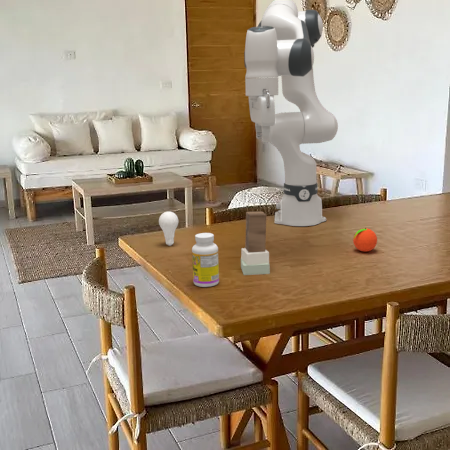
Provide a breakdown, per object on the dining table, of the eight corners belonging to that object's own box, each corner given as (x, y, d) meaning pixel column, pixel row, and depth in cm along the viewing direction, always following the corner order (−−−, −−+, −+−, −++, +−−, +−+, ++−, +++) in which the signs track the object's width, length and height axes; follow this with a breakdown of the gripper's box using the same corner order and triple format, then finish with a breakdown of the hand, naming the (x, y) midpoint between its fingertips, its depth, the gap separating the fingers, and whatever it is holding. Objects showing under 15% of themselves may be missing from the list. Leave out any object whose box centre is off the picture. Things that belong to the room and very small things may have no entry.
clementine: (362, 256, 171) (362, 232, 169) (345, 251, 176) (345, 228, 175) (381, 251, 175) (382, 228, 173) (364, 246, 180) (365, 224, 179)
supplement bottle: (192, 279, 155) (190, 232, 152) (218, 278, 155) (216, 231, 152) (193, 288, 148) (191, 239, 145) (220, 287, 149) (218, 237, 146)
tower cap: (241, 258, 163) (241, 248, 162) (262, 256, 164) (262, 246, 164) (247, 265, 157) (247, 254, 156) (269, 263, 159) (269, 252, 158)
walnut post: (245, 247, 162) (246, 211, 160) (261, 247, 163) (262, 211, 160) (248, 252, 158) (249, 215, 155) (265, 251, 159) (266, 215, 156)
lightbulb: (183, 243, 189) (181, 210, 187) (173, 249, 184) (171, 214, 181) (166, 242, 192) (164, 209, 189) (156, 247, 186) (154, 213, 184)
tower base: (240, 268, 164) (240, 258, 164) (265, 267, 165) (265, 256, 164) (243, 276, 158) (243, 265, 157) (269, 275, 158) (269, 264, 157)
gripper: (280, 89, 150) (281, 144, 153) (267, 88, 170) (267, 136, 173) (256, 90, 149) (256, 145, 153) (245, 88, 169) (246, 137, 172)
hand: (262, 140), depth 163 cm, fingers open, 8 cm apart
